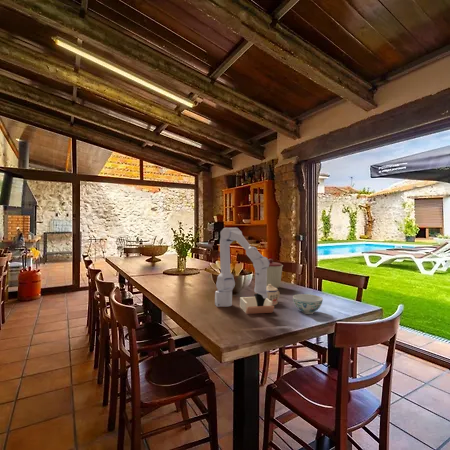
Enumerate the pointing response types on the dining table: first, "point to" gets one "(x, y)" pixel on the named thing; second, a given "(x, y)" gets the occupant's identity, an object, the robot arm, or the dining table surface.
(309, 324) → the dining table surface
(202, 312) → the dining table surface
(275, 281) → the canister
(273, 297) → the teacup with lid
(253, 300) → the box
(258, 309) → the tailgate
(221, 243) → the robot arm
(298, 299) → the chinaware
